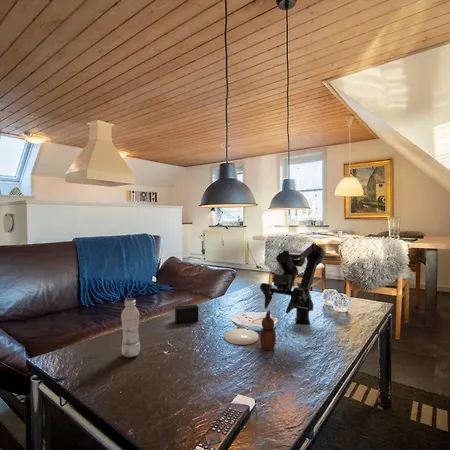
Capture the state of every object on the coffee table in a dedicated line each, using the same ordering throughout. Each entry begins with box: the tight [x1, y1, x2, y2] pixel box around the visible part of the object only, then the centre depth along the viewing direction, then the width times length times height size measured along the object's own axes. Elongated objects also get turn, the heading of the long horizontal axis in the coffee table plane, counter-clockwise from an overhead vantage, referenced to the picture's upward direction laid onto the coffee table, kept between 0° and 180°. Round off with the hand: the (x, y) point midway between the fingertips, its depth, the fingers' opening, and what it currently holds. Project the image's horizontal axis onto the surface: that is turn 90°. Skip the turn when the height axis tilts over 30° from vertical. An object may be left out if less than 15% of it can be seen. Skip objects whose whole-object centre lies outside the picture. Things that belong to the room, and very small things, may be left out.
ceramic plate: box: [223, 327, 260, 346], centre depth 121 cm, size 14×14×1 cm
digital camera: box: [174, 304, 199, 325], centre depth 139 cm, size 10×5×7 cm, turn 110°
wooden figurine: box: [259, 309, 277, 351], centre depth 111 cm, size 7×6×15 cm
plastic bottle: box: [120, 298, 141, 358], centre depth 105 cm, size 6×7×20 cm
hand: (275, 310), depth 116 cm, fingers open, 9 cm apart
